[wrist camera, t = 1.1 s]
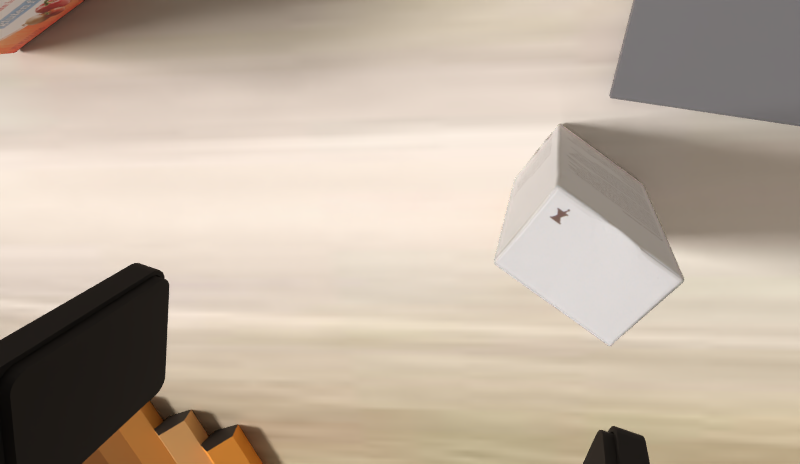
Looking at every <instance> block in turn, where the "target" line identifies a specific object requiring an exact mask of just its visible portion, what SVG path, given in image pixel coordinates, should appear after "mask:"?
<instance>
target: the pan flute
mask: <svg viewBox="0 0 800 464" xmlns="http://www.w3.org/2000/svg"><path fill="white" fill-rule="evenodd" d="M82 464H263V463H262V462H261V460H260V458H259V457H258V455H257V454H256V452H255V451H254V449H253V447H252V446H251V444H250V443H249V441H248V439H247V438H246V436H245V435H244V433H243V432H242V430H241V428H240V427H239V425H234V426H230V427H227V428H223V429H220V430H216V431H215V432H213V433H212V434H211V435H210V436H208V435H207V433H206V431H205V430H204V428H203V427H202V425H201V424H200V422H199V421H198V419H197V418H196V416H195V415H194V413H193V412H192V410H188V411H185V412H181V413H178V414H175V415H172V416H169V417H168V418H167V419H166V420H165V421H163V420H162V418H161V417H160V415H159V414H158V412H157V411H156V409H155V408H154V406H153V405H152V403H151V402H150V401H149V402H148V403H146V404H145V405H144V406H143V407H142V408H141V409H140V410H139V411H138V412H137V413H136V414H135V415H134V416H133V417H131V418H130V419H129V420H128V421H127V422H126V423H125V424H124V425H123V426H122V427H121V428H120V429H119V430H117V431H116V432H115V433H114V434H113V435H112V436H111V437H110V438H109V439H108V440H107V441H106V442H105V443H104V444H102V445H101V446H100V447H99V448H98V449H97V450H96V451H95V452H94V453H93V454H92V455H91V456H90V457H88V458H87V459H86V460H85V461H84V462H83V463H82Z"/></svg>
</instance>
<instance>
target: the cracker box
mask: <svg viewBox="0 0 800 464" xmlns="http://www.w3.org/2000/svg"><path fill="white" fill-rule="evenodd" d="M83 1H84V0H0V54H6V53H15V52H17V51H18V50H19V49H20V48H21V47H23V46H24V45H25V44H26V43H28V42H29V41H31V40H32V39H33V38H35V37H36V36H37V35H39V34H40V33H41V32H43V31H44V30H45V29H47V28H48V27H49V26H51V25H52V24H53V23H55V22H56V21H57V20H59V19H60V18H61V17H63V16H64V15H65V14H67V13H68V12H69V11H71V10H72V9H73V8H75V7H76V6H77V5H79V4H80V3H82V2H83Z"/></svg>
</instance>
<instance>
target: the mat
mask: <svg viewBox="0 0 800 464" xmlns="http://www.w3.org/2000/svg"><path fill="white" fill-rule="evenodd" d="M610 98H614V99H621V100H627V101H634V102H641V103H648V104H654V105H661V106H668V107H674V108H681V109H688V110H695V111H701V112H708V113H715V114H721V115H728V116H735V117H742V118H748V119H755V120H762V121H768V122H775V123H782V124H789V125H795V126H800V0H634V1H633V5H632V9H631V13H630V17H629V21H628V25H627V29H626V33H625V37H624V40H623V44H622V48H621V52H620V56H619V60H618V64H617V68H616V72H615V76H614V80H613V84H612V88H611V92H610Z"/></svg>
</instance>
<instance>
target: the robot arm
mask: <svg viewBox="0 0 800 464" xmlns="http://www.w3.org/2000/svg"><path fill="white" fill-rule="evenodd" d="M168 302H169V283H168V281H167V280H166V279H164V274H163V272H161V271H160V270H157V269H154V268H151V267H148V266H145V265H143V264H140V263H134V264H131V265H130V266H128V267H126V268H124V269H123V270H121V271H119V272H118V273H116V274H114V275H112V276H111V277H109V278H107V279H105V280H104V281H102V282H100V283H98V284H97V285H95V286H93V287H92V288H90V289H88V290H86V291H85V292H83V293H81V294H79V295H78V296H76V297H74V298H73V299H71V300H69V301H67V302H66V303H64V304H62V305H60V306H59V307H57V308H55V309H53V310H52V311H50V312H48V313H47V314H45V315H43V316H41V317H40V318H38V319H36V320H34V321H33V322H31V323H29V324H27V325H26V326H24V327H22V328H21V329H19V330H17V331H15V332H14V333H12V334H10V335H8V336H7V337H5V338H3V339H2V340H0V464H82V463H83V462H84V461H85V460H86V459H87V458H88V457H90V456H91V455H92V454H93V453H94V452H95V451H96V450H97V449H98V448H99V447H100V446H101V445H102V444H104V443H105V442H106V441H107V440H108V439H109V438H110V437H111V436H112V435H113V434H114V433H115V432H116V431H117V430H119V429H120V428H121V427H122V426H123V425H124V424H125V423H126V422H127V421H128V420H129V419H130V418H131V417H133V416H134V415H135V414H136V413H137V412H138V411H139V410H140V409H141V408H142V407H143V406H144V405H145V404H146V403H148V402H149V401H150V400H151V399H152V398H153V397H154V396H155V395H156V394H157V393H158V392H159V391H160V389H161V387H162V385H163V383H164V380H165V369H166V346H167V324H168ZM583 464H650V462H649V457H648V452H647V447H646V441H645V438H644V437H643V436H641V435H639V434H636V433H633V432H630V431H627V430H624V429H621V428H618V427H615V426H612V427H611V428H610V429H609V431H608V432H606V431H603V430H599V431H598V432H597V434H596V436H595V438H594V441H593V443H592V445H591V447H590V449H589V451H588V454H587V456H586V458H585V460H584V462H583Z"/></svg>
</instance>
